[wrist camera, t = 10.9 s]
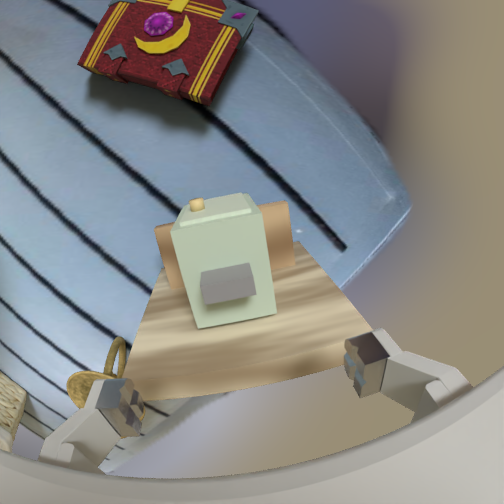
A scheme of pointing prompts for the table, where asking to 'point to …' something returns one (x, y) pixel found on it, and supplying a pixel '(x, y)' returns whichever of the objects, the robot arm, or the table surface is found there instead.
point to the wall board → (242, 326)
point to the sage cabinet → (224, 259)
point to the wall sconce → (97, 375)
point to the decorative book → (169, 44)
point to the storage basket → (10, 410)
